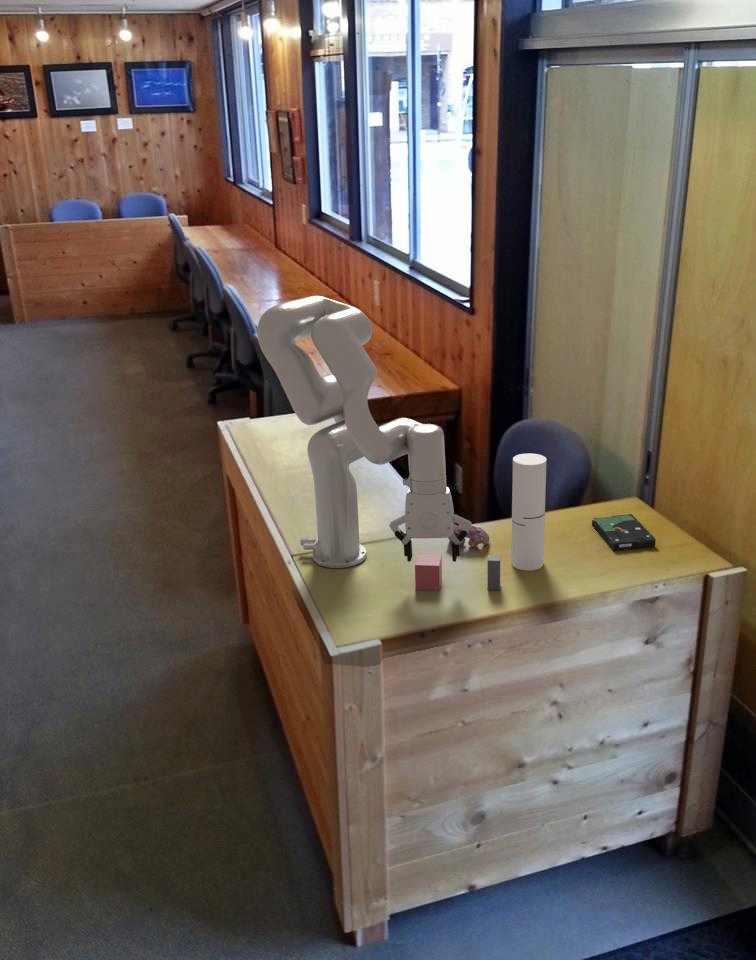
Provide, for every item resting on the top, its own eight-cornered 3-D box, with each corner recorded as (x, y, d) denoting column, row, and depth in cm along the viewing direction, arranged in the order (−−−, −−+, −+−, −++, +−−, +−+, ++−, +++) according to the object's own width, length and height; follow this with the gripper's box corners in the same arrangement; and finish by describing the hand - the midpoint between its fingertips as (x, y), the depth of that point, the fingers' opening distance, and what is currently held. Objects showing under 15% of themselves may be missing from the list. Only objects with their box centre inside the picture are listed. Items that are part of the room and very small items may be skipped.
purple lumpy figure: (446, 549, 221) (442, 531, 216) (451, 535, 224) (447, 516, 219) (487, 554, 218) (484, 536, 213) (491, 539, 220) (488, 520, 215)
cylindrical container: (542, 571, 205) (545, 465, 196) (510, 569, 207) (511, 464, 198) (543, 557, 212) (547, 453, 203) (512, 555, 213) (514, 452, 204)
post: (487, 589, 198) (487, 560, 196) (488, 584, 201) (488, 555, 198) (499, 590, 198) (500, 560, 195) (500, 584, 200) (500, 555, 198)
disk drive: (656, 549, 215) (630, 523, 228) (657, 539, 213) (631, 512, 227) (613, 554, 213) (590, 527, 227) (613, 543, 212) (590, 516, 226)
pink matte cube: (415, 590, 199) (414, 564, 197) (418, 578, 204) (417, 554, 202) (439, 590, 199) (439, 565, 196) (441, 579, 203) (441, 554, 201)
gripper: (384, 491, 191) (389, 566, 196) (468, 490, 188) (471, 566, 194) (389, 478, 198) (394, 551, 203) (471, 477, 195) (473, 551, 201)
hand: (432, 559), depth 198 cm, fingers open, 9 cm apart
